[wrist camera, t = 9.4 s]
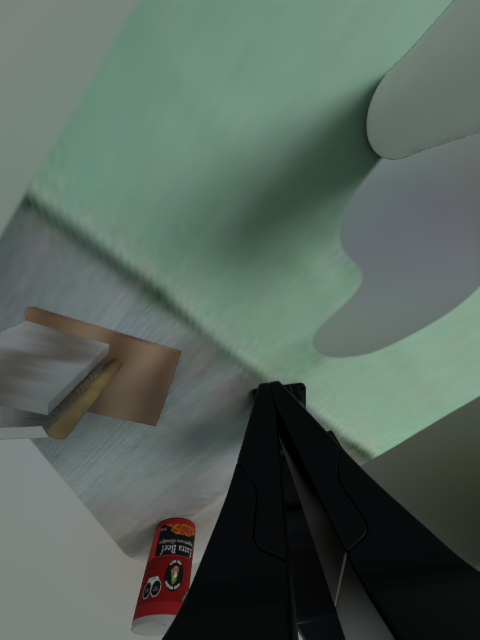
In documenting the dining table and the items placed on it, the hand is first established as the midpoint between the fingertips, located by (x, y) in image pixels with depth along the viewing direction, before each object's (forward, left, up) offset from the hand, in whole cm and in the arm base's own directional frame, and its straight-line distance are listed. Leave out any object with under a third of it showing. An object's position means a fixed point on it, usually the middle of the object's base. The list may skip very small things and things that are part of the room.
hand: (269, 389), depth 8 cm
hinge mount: (-7, +17, -12) cm, 22 cm away
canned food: (-45, +20, -12) cm, 51 cm away
